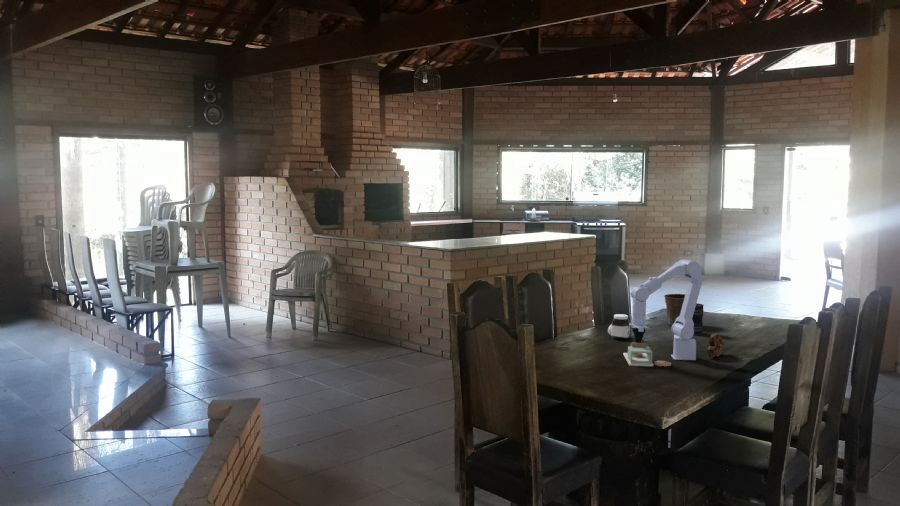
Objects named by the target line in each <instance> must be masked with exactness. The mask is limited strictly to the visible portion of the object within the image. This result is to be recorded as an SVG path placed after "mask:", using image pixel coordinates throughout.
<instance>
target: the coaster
mask: <svg viewBox="0 0 900 506" xmlns="http://www.w3.org/2000/svg"><path fill="white" fill-rule="evenodd" d="M653 365H655V366H657V367H662V366H664V367H667V366H668V367H671V366H672V363H671V362H670V361H667V360H656V361H653Z"/></svg>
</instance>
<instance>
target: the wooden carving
mask: <svg viewBox="0 0 900 506" xmlns="http://www.w3.org/2000/svg"><path fill="white" fill-rule="evenodd" d="M708 343H709V346H707V350H706V351H707V354H708V358H715V357H720V356H721V355H722V353H723V351H724V347H723V345H724V343H725V342H724V341H723V338H722V336H721V335H720V334H719V333H718V334H716V333H715V334H710V337H708Z"/></svg>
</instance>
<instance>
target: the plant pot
mask: <svg viewBox="0 0 900 506" xmlns="http://www.w3.org/2000/svg"><path fill="white" fill-rule="evenodd" d="M685 294H686V293H684V294H683V293H669V294H664V295H663V297H664V302H665V307H666V321H667V325H668V326H671V327H672V325H673V324H674V323H675V321H676V318H677V317H679V316H680V313H681V309H682V305H683V302H684V298H685Z"/></svg>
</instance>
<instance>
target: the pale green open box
mask: <svg viewBox="0 0 900 506" xmlns="http://www.w3.org/2000/svg"><path fill="white" fill-rule="evenodd" d="M631 345H632V346H631ZM631 345H630V346H629V345H627V353H628V359H629V361H630V363H632V353H646V354H647V359H648V360H649V362H650V363H653V350H652V349H651V348H650V347H649V346H647V343H646V342H641V343H635V341H634V342H631Z"/></svg>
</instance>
